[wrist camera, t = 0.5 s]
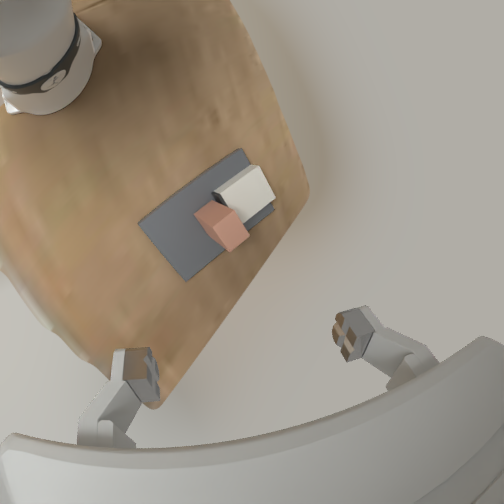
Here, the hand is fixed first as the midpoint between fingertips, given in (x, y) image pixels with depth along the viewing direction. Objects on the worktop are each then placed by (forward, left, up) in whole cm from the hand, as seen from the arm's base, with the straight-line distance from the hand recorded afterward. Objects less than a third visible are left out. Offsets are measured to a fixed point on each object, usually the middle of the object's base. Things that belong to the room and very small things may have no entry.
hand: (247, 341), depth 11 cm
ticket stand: (+10, +8, -38) cm, 40 cm away
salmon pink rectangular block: (+10, +8, -36) cm, 38 cm away
